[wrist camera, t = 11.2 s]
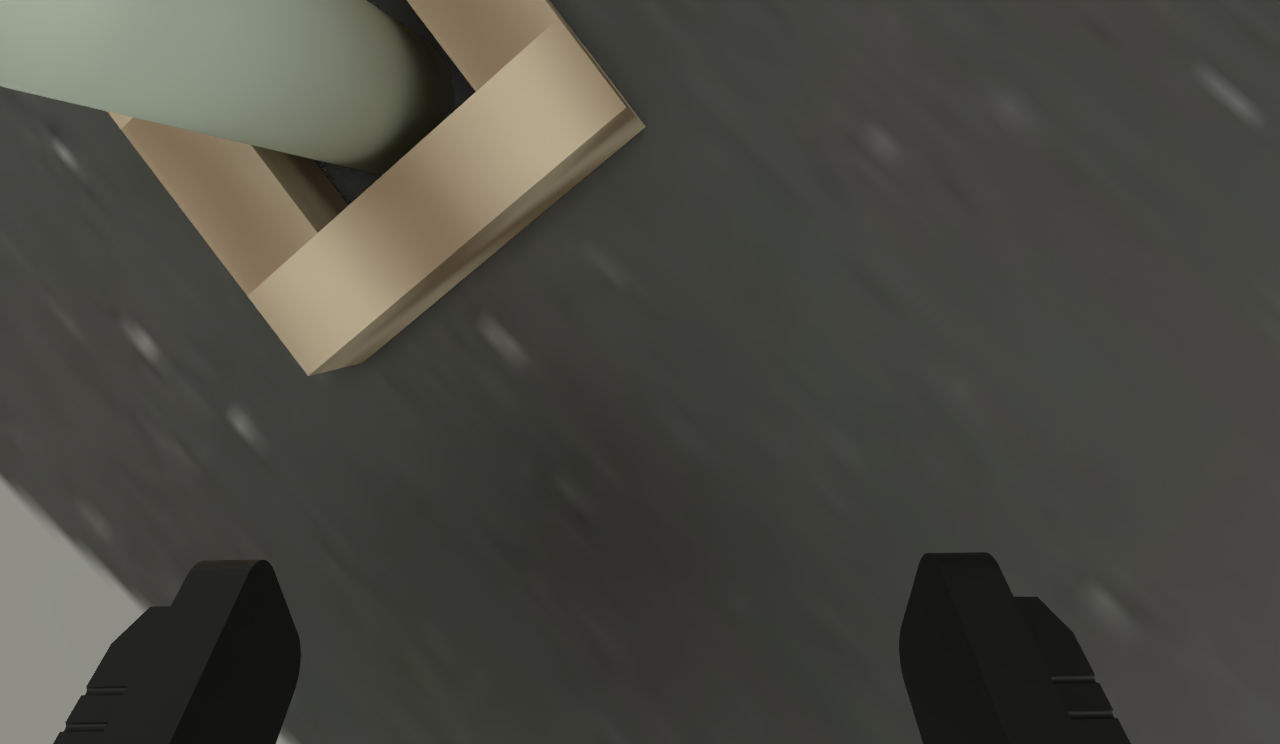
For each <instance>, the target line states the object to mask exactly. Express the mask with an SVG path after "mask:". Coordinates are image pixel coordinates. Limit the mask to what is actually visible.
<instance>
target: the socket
mask: <svg viewBox="0 0 1280 744" xmlns="http://www.w3.org/2000/svg"><path fill="white" fill-rule="evenodd" d="M407 2H408V3H409V4H410V6H411V7H412V8H413V10H414V11H415V12H416V13H417V15H418V16H419V17H420V19H421V20H422V21H423V23H424V24H425V25H426V27H427V28H428V29H429V31H430V32H431V33H432V35H433V36H434V37H435V39H436V40H437V41H438V42H439V44H440V45H441V46H442V48H443V49H444V50H445V52H446V53H447V54H448V56H449V57H450V58H451V60H452V61H453V62H454V64H455V65H456V66H457V68H458V69H459V70H460V72H461V73H462V74H463V75H464V77H465V78H466V79H467V81H468V82H469V83H470V85H471V86H472V87H473V89H474V90H475V91H476V92H475V93H474V94H473V95H472V96H471V97H469V98H468V99H467V100H466V101H465V102H464V103H463V104H462V105H461V106H459V107H458V108H457V109H456V110H455V111H454V112H453V113H452V114H450V115H449V116H448V117H447V118H446V119H445V120H444V121H443V122H441V123H440V124H439V125H438V126H437V127H436V128H435V129H434V130H433V131H431V132H430V133H429V134H428V135H427V136H426V137H425V138H424V139H422V140H421V141H420V142H419V143H418V144H417V145H416V146H415V147H413V148H412V149H411V150H410V151H409V152H408V153H407V154H406V155H405V156H403V157H402V158H401V159H400V160H399V161H398V162H397V163H396V164H394V165H393V166H392V167H391V168H390V169H389V170H388V171H387V172H385V173H384V174H383V175H382V176H381V177H380V178H379V179H378V180H377V181H375V182H374V183H373V184H372V185H371V186H370V187H369V188H368V189H366V190H365V191H364V192H363V193H362V194H361V195H360V196H359V197H357V198H356V199H355V200H354V201H353V202H352V203H351V204H350V205H348V204H347V202H346V201H345V200H344V199H343V197H342V196H341V195H340V193H339V192H338V191H337V189H336V188H335V187H334V185H333V184H332V183H331V181H330V180H329V179H328V177H327V176H326V175H325V173H324V172H323V171H322V170H321V168H320V167H319V166H318V164H317V163H316V162H315V160H314V159H310V158H305V157H301V156H297V155H292V154H288V153H284V152H280V151H275V150H271V149H267V148H262V147H258V146H254V145H250V144H245V143H241V142H237V141H232V140H228V139H224V138H220V137H215V136H211V135H207V134H202V133H198V132H194V131H190V130H185V129H181V128H177V127H172V126H168V125H164V124H160V123H155V122H151V121H147V120H142V119H138V118H134V117H129V116H125V115H121V114H117V113H112V112H108V111H107V112H108V113H109V114H110V116H111V117H112V118H113V120H114V121H115V122H116V124H117V125H118V126H119V128H120V129H121V130H122V132H123V133H124V134H125V135H126V137H127V138H128V139H129V141H130V142H131V143H132V145H133V146H134V147H135V149H136V150H137V151H138V153H139V154H140V155H141V157H142V158H143V159H144V160H145V162H146V163H147V164H148V166H149V167H150V168H151V170H152V171H153V172H154V174H155V175H156V176H157V178H158V179H159V180H160V182H161V183H162V184H163V186H164V187H165V188H166V189H167V191H168V192H169V193H170V195H171V196H172V197H173V199H174V200H175V201H176V203H177V204H178V205H179V207H180V208H181V209H182V211H183V212H184V213H185V214H186V216H187V217H188V218H189V220H190V221H191V222H192V224H193V225H194V226H195V228H196V229H197V230H198V232H199V233H200V234H201V236H202V237H203V238H204V239H205V241H206V242H207V243H208V245H209V246H210V247H211V249H212V250H213V251H214V253H215V254H216V255H217V257H218V258H219V259H220V261H221V262H222V263H223V265H224V266H225V267H226V268H227V270H228V271H229V272H230V274H231V275H232V276H233V278H234V279H235V280H236V282H237V283H238V284H239V286H240V287H241V288H242V290H243V291H244V292H245V293H246V295H247V296H248V297H249V299H250V300H251V301H252V303H253V304H254V305H255V307H256V308H257V309H258V311H259V312H260V313H261V315H262V316H263V317H264V319H265V320H266V321H267V322H268V324H269V325H270V326H271V328H272V329H273V330H274V332H275V333H276V334H277V336H278V337H279V338H280V340H281V341H282V342H283V344H284V345H285V346H286V347H287V349H288V350H289V351H290V353H291V354H292V355H293V357H294V358H295V359H296V361H297V362H298V363H299V365H300V366H301V367H302V369H303V370H304V371H305V372H306V374H307V375H308V376H310V375H315V374H319V373H323V372H327V371H331V370H335V369H340V368H344V367H348V366H352V365H356V364H360V363H363V362H364V361H366V360H367V359H368V358H369V357H370V356H372V355H373V354H374V353H375V352H376V351H378V350H379V349H380V348H381V347H382V346H384V345H385V344H386V343H387V342H388V341H390V340H391V339H392V338H393V337H394V336H396V335H397V334H398V333H399V332H400V331H402V330H403V329H404V328H405V327H406V326H408V325H409V324H410V323H411V322H412V321H414V320H415V319H416V318H417V317H418V316H420V315H421V314H422V313H423V312H424V311H426V310H427V309H428V308H429V307H430V306H432V305H433V304H434V303H435V302H436V301H438V300H439V299H440V298H441V297H442V296H444V295H445V294H446V293H447V292H448V291H450V290H451V289H452V288H453V287H454V286H456V285H457V284H458V283H459V282H460V281H462V280H463V279H464V278H465V277H466V276H468V275H469V274H470V273H471V272H472V271H473V270H475V269H476V268H477V267H478V266H479V265H481V264H482V263H483V262H484V261H485V260H487V259H488V258H489V257H490V256H491V255H493V254H494V253H495V252H496V251H497V250H499V249H500V248H501V247H502V246H503V245H505V244H506V243H507V242H508V241H509V240H511V239H512V238H513V237H514V236H515V235H517V234H518V233H519V232H520V231H521V230H523V229H524V228H525V227H526V226H527V225H529V224H530V223H531V222H532V221H533V220H535V219H536V218H537V217H538V216H539V215H541V214H542V213H543V212H544V211H545V210H547V209H548V208H549V207H550V206H551V205H553V204H554V203H555V202H556V201H557V200H559V199H560V198H561V197H562V196H563V195H565V194H566V193H567V192H568V191H569V190H571V189H572V188H573V187H574V186H575V185H577V184H578V183H579V182H580V181H581V180H583V179H584V178H585V177H586V176H587V175H589V174H590V173H591V172H592V171H593V170H595V169H596V168H597V167H598V166H599V165H601V164H602V163H603V162H604V161H605V160H607V159H608V158H609V157H610V156H611V155H613V154H614V153H615V152H616V151H617V150H619V149H620V148H621V147H622V146H623V145H625V144H626V143H627V142H628V141H629V140H631V139H632V138H633V137H634V136H635V135H637V134H638V133H639V132H640V131H641V130H643V129H644V128H645V127H646V126H645V125H644V124H643V122H642V121H641V120H640V118H639V117H638V116H637V114H636V113H635V112H634V110H633V109H632V108H631V106H630V105H629V104H628V103H627V101H626V100H625V99H624V97H623V96H622V95H621V93H620V92H619V91H618V89H617V88H616V87H615V85H614V84H613V83H612V81H611V80H610V79H609V77H608V76H607V75H606V73H605V72H604V71H603V70H602V68H601V67H600V66H599V64H598V63H597V62H596V60H595V59H594V58H593V56H592V55H591V54H590V52H589V51H588V50H587V48H586V47H585V46H584V44H583V43H582V42H581V40H580V39H579V38H578V37H577V35H576V34H575V33H574V31H573V30H572V29H571V27H570V26H569V25H568V23H567V22H566V21H565V19H564V18H563V17H562V15H561V14H560V13H559V11H558V10H557V9H556V7H555V6H554V5H553V4H552V2H551V1H550V0H407Z"/></svg>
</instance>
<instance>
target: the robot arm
mask: <svg viewBox="0 0 1280 744" xmlns="http://www.w3.org/2000/svg"><path fill="white" fill-rule="evenodd" d="M899 652H900V663H901V669H902V674H903V678H904V682H905V685H906V689H907V692H908V695H909V698H910V702H911V705H912V708H913V711H914V715H915V718H916V721H917V725H918V728H919V731H920V734H921V738H922V741H923V744H1131V743H1130V741H1129V740H1128V738H1127V736H1126V734H1125V732H1124V730H1123V728H1122V726H1121V724H1120V722H1119V720H1118V718H1114V717H1113V714H1112V710H1113V709H1112V707H1111V705H1110V703H1109V701H1108V699H1107V697H1106V695H1105V693H1104V691H1103V690H1102V688H1101V686H1100V684H1099V683H1096V682H1095V679H1094V675H1095V674H1094V672H1093V670H1092V668H1091V666H1090V664H1089V663H1088V661H1087V659H1086V657H1085V655H1084V653H1083V651H1082V649H1081V647H1080V645H1079V643H1078V641H1077V639H1076V638H1075V636H1074V634H1073V632H1072V631H1071V630H1070V629H1069V628H1068V627H1067V626H1066V625H1065V624H1064V623H1063V622H1062V621H1061V620H1060V619H1059V618H1058V617H1057V616H1056V615H1055V614H1054V613H1053V612H1052V611H1051V610H1050V609H1049V608H1048V607H1047V606H1046V605H1045V604H1044V603H1043V602H1042V601H1041V600H1040V599H1039V598H1038V597H1013V595H1012V593H1011V591H1010V589H1009V586H1008V584H1007V582H1006V580H1005V578H1004V576H1003V574H1002V572H1001V569H1000V567H999V565H998V564H997V562H996V560H995V559H994V558H993V557H992V556H991V555H990V554H988V553H926V554H924V555H923V556H922V558H921V560H920V563H919V566H918V570H917V573H916V577H915V580H914V584H913V587H912V591H911V594H910V598H909V601H908V605H907V608H906V612H905V615H904V619H903V622H902V626H901V630H900V639H899ZM300 658H301V649H300V641H299V636H298V633H297V630H296V628H295V625H294V622H293V620H292V617H291V614H290V612H289V609H288V607H287V604H286V601H285V599H284V596H283V593H282V591H281V588H280V585H279V583H278V580H277V578H276V575H275V572H274V570H273V568H272V566H271V564H270V563H269V562H267V561H266V560H221V561H201V562H199V563H197V564H196V565H195V566H194V567H193V568H192V569H191V570H190V572H189V574H188V575H187V577H186V579H185V581H184V583H183V584H182V586H181V588H180V590H179V592H178V594H177V596H176V597H175V599H174V601H173V603H172V605H171V606H166V607H150V608H149V609H148V610H147V611H146V612H144V613H143V614H142V615H141V616H140V617H139V618H138V619H137V620H136V621H135V622H134V623H133V624H132V625H131V626H130V627H129V628H128V629H127V630H126V631H125V632H123V633H122V634H121V635H120V636H119V637H118V638H117V639H116V640H115V641H114V642H113V643H112V644H111V645H110V647H109V649H108V651H107V653H106V654H105V656H104V658H103V659H102V661H101V663H100V665H99V666H98V668H97V670H96V671H95V673H94V675H93V676H92V678H91V680H90V682H89V683H88V685H87V692H86V694H85V695H83V696H81V697H80V699H79V700H78V702H77V704H76V706H75V707H74V709H73V711H72V712H71V714H70V716H69V718H68V719H67V721H66V729H65V731H64V732H60V733H59V735H58V736H57V738H56V740H55V742H54V743H53V744H276V741H277V738H278V735H279V733H280V730H281V727H282V724H283V721H284V719H285V716H286V713H287V710H288V707H289V705H290V702H291V699H292V696H293V693H294V690H295V687H296V684H297V680H298V676H299V670H300Z"/></svg>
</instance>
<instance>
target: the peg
mask: <svg viewBox="0 0 1280 744" xmlns="http://www.w3.org/2000/svg"><path fill="white" fill-rule="evenodd" d="M0 86H2V87H5V88H9V89H14V90H18V91H22V92H27V93H31V94H35V95H39V96H44V97H48V98H52V99H57V100H61V101H65V102H69V103H74V104H78V105H82V106H87V107H91V108H95V109H99V110H104V111H108V112H112V113H117V114H121V115H125V116H129V117H134V118H138V119H142V120H147V121H151V122H155V123H160V124H164V125H168V126H172V127H177V128H181V129H185V130H190V131H194V132H198V133H202V134H207V135H211V136H215V137H220V138H224V139H228V140H232V141H237V142H241V143H245V144H250V145H254V146H258V147H262V148H267V149H271V150H275V151H280V152H284V153H288V154H292V155H297V156H301V157H305V158H310V159H314V160H318V161H322V162H327V163H331V164H335V165H340V166H344V167H348V168H352V169H357V170H361V171H365V172H370V173H374V174H380V175H383V174H384V173H385V172H387V171H388V170H389V169H390V168H391V167H392V166H393V165H394V164H396V163H397V162H398V161H399V160H400V159H401V158H402V157H403V156H405V155H406V154H407V153H408V152H409V151H410V150H411V149H412V148H413V147H415V146H416V145H417V144H418V143H419V142H420V141H421V140H422V139H424V138H425V137H426V136H427V135H428V134H429V133H430V132H431V131H433V130H434V129H435V128H436V127H437V126H438V125H439V124H440V123H441V122H443V121H444V120H445V119H446V118H447V117H448V116H449V115H450V114H452V113H453V112H454V103H455V96H454V87H453V83H452V78H451V75H450V72H449V70H448V67H447V65H446V63H445V61H444V60H443V58H442V57H441V55H440V54H439V52H438V51H437V50H436V49H435V48H434V46H433V45H432V44H431V43H429V42H428V41H427V40H426V39H425V38H423V37H422V36H420V35H419V34H417V33H416V32H414V31H413V30H411V29H410V28H408V27H407V26H405V25H403V24H402V23H400V22H399V21H397V20H396V19H394V18H393V17H391V16H390V15H388V14H387V13H385V12H384V11H382V10H381V9H379V8H377V7H376V6H374V5H373V4H371V3H370V2H368V1H367V0H0Z"/></svg>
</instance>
